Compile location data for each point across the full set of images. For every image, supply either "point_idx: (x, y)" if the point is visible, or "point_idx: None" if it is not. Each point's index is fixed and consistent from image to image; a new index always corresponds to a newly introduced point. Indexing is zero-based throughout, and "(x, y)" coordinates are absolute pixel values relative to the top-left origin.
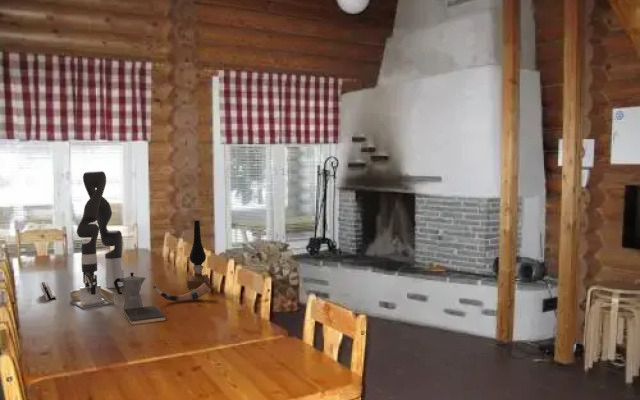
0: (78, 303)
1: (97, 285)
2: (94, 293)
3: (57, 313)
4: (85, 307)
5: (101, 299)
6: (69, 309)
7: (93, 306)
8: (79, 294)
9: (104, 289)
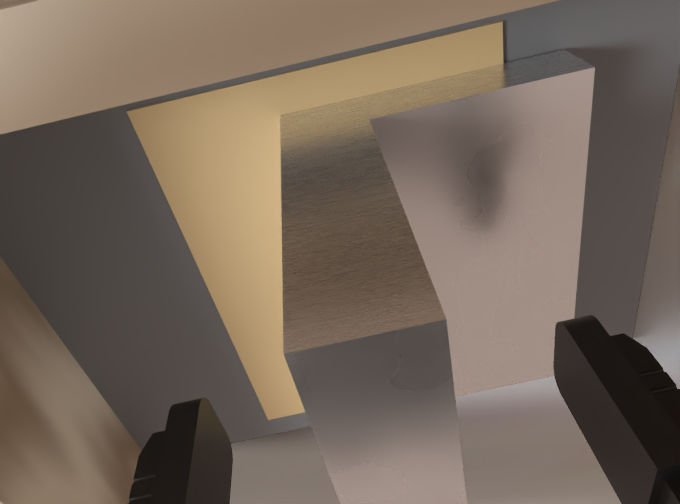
0: None
1: (375, 407)
2: (624, 348)
3: (575, 500)
4: (632, 328)
5: (548, 130)
6: (495, 439)
7: (641, 237)
8: (71, 460)
9: (153, 64)
